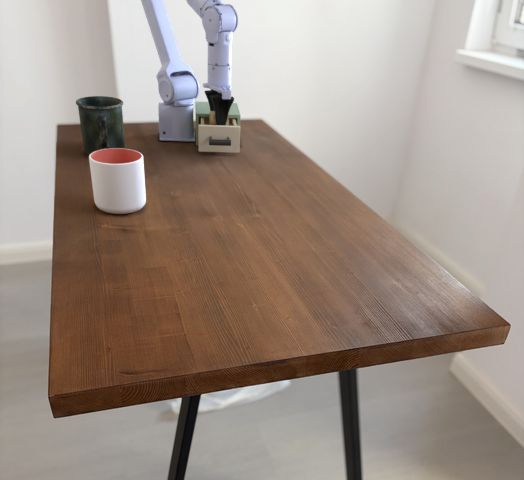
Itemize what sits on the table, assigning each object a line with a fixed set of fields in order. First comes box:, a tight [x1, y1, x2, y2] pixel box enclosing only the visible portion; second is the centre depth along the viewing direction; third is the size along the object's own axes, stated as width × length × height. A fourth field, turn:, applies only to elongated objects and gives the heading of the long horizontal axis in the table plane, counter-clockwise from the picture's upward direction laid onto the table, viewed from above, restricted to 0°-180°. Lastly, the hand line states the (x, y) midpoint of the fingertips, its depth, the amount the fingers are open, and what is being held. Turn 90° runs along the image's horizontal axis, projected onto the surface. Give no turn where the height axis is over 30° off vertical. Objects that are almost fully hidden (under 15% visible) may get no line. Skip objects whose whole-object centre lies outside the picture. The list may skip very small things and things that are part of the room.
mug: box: [75, 95, 126, 157], centre depth 131 cm, size 11×15×12 cm
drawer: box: [198, 117, 241, 154], centre depth 141 cm, size 17×10×6 cm, turn 6°
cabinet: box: [194, 100, 241, 147], centre depth 150 cm, size 14×12×8 cm
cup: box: [88, 148, 147, 215], centre depth 107 cm, size 10×10×10 cm
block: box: [210, 111, 229, 126], centre depth 139 cm, size 4×4×4 cm
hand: (218, 123), depth 139 cm, fingers closed on block, 4 cm apart
